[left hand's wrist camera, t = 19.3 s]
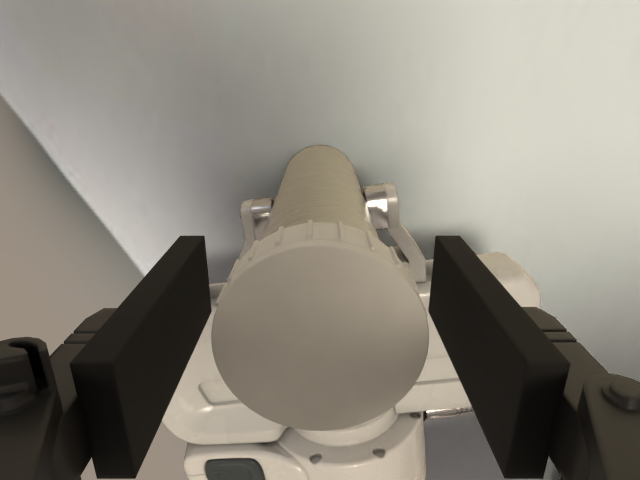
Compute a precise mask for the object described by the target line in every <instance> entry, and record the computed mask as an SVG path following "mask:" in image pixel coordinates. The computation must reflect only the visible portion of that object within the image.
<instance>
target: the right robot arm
mask: <svg viewBox="0 0 640 480" xmlns="http://www.w3.org/2000/svg"><path fill="white" fill-rule="evenodd" d="M362 190H363V196H364V198H365V201H366V204H367V206H368V209H369V212H370V215H371V217H372V220H373V223H374V226H375V228H376V229H386V230H387V231H388V233H389V234H390V236H391V237H392V238H393V240H394V241H395V242H396V244H397V245H398V246H392V247H393V248H394V250H395V252H396V255H397V257H398V258H399V259H400V261H401V262H402V264H403V265H404V266H405V268H407V267H409V269H410V271H411V273H412V275H413V278H414V280H415V282H416V284H417V286H418V288H419V290H417V291H418V293H419V296H420V298H421V300H422V302H423V304H424V307H425V309H426V311H427V315H428V316H426V317H427V322H428V328H429V346H428V354H427V357H426V361H425V364H424V367H423V369H422V371H421V374H420V376H419V378H418V379H417V381H416V383H415V384H414V386H413V387H412V389H411V390H410V391H409V392H408V393H407V394H406V396H405V397H404V398H403V399H402V400H401V401H399V402H398V403H397V404H396V405H395V406H394V407H392V408H391V409H389V410H388V411H387V412H385V413H384V414H382V415H380V416H378V417H376V418H375V419H373V420H370V421H368V422H365V423H363V424H360V425H357V426H353V427H350V428H345V429H339V430H330V431H309V430H301V429H295V428H291V427H287V426H283V425H281V424H278V423H275V422H272V421H270V420H268V419H266V418H264V417H262V416H260V415H258V414H257V413H255V412H254V411H252V410H250V409H249V408H248V407H247V406H246V405H244V404H243V403H242V402H241V401H240V400H239V399H238V398H237V397H236V396H235V395H234V394H233V393H232V392H231V391H230V389H229V388H228V387H227V385H226V384H225V382H224V381H223V379H222V377H221V375H220V373H219V371H218V368H217V366H216V363H215V360H214V356H213V351H212V342H211V332H212V323H213V319H214V315H215V311H216V309H217V307H215V304H216V301H217V299H218V297H219V295H220V292H221V290H222V288H223V286H224V284H225V282H223V283H214V284H209V288H210V298H211V309H212V312H211V314H210V316H209V319H208V321H207V323H206V325H205V327H204V329H203V332H202V334H201V336H200V338H199V340H198V343H197V345H196V347H195V349H194V351H193V353H192V356H191V358H190V360H189V362H188V364H187V367H186V369H185V371H184V373H183V375H182V377H181V380H180V382H179V384H178V386H177V388H176V391H175V393H174V395H173V397H172V399H171V401H170V404H169V406H168V408H167V410H166V412H165V415H164V417H163V419H162V422H163V424H164V425H165V427H166V428H167V429H168V430H169V431H170V432H171V433H172V434H174V435H175V436H176V437H178V438H180V439H181V440H183V441H186V442H188V443H187V448H186V453H185V458H184V469H185V473H186V475H187V478H188V479H189V480H426V457H425V436H424V423H423V421H425V419H433V418H443V417H452V416H457V415H461V414H466V413H471V412H472V413H475V412H474V410H473V408H472V406H471V404H470V401H469V399H468V397H467V395H466V393H465V391H464V388H463V386H462V384H461V382H460V380H459V377H458V375H457V373H456V371H455V369H454V367H453V364H452V362H451V360H450V358H449V356H448V353H447V351H446V349H445V347H444V345H443V343H442V340H441V338H440V336H439V334H438V332H437V329H436V327H435V325H434V323H433V321H432V319H431V316H430V314H429V312H428V309H429V298H430V288H431V278H432V268H433V259H429V260H425V258H424V256H423V254H422V252H421V251H420V249H419V247H418V245H417V244H416V242H415V241H414V239H413V238H412V237H411V235H410V234H409V232H408V231H407V230H406V228H405V227H404V225H403V224H402V223H401V221H400V220H399V207H398V195H397V190H396V187H395V186H394V184H393V183H384V184H376V185H368V186H363V187H362ZM274 201H275V199H274V197H270V198H260V199H250V200H244V201H243V203H242V205H241V206H240V214H241V221H242V226H243V232H244V237H245V243H244V245H243V248H242V250H241V253H240V255H239V258H238V260H241V259H242V257H243V256H244V255H245V254H246V252H248V251H249V250H250V249H251V248H252V246H253V243H254V241H256V240H258V241H260V240H261V237H262V235H263V232H264V229H265V226H266V224H267V221H268V218H269V215H270V212H271V210H272V207H273V204H274ZM476 255H477V256H478V258H479V259H480V260H481V261H482V262H483V263H484V264H485V266H486V267H487V268H488V269H489V270H490V271H491V273H492V274H493V275H494V276H495V277H496V278H497V279H498V281H499V282H500V283H501V284H502V285H503V286H504V288H505V289H506V290H507V291H508V292H509V293H510V294H511V296H512V297H513V298H514V299H515V300H516V301H517V302H518V304H519V305H520V306H521V307H538V308H539V309H540V300H541V297H540V290H539V288H538V286H537V284H536V283H535V281H534V280H533V279H532V278H531V276H530V275H529V274H528V273H527V272H526V271H525V270H524V269H523V268H522V267H521V266H520V265H519V264H517V263H516V262H515V261H514V260H512V259H511V258H510V257H508V256H507V255H506V254H504V253H501V252H492V253H483V254H476ZM226 283H228V282H226Z"/></svg>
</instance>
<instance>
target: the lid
mask: <svg viewBox="0 0 640 480" xmlns="http://www.w3.org/2000/svg"><path fill="white" fill-rule="evenodd" d="M227 281H228V283H226V282H225V284H224V286H223V288H222V290H221V292H220V295H219V297H218V299H217V301H216V304H215V307H217V309H216V311H215V315H214V319H213V323H212V332H211V342H212V351H213V356H214V360H215V363H216V366H217V368H218V371H219V373H220V375H221V377H222V379H223V381H224V382H225V384H226V385H227V387H228V388H229V389H230V391H231V392H232V393H233V394H234V395H235V396H236V397H237V398H238V399H239V400H240V401H241V402H242V403H243V404H244V405H246V406H247V407H248V408H249V409H250V410H252V411H254V412H255V413H257V414H258V415H260V416H262V417H264V418H266V419H268V420H270V421H272V422H275V423H278V424H281V425H283V426H287V427H291V428H295V429H301V430H309V431H330V430H339V429H345V428H350V427H353V426H357V425H360V424H363V423H365V422H368V421H370V420H373V419H375V418H376V417H378V416H380V415H382V414H384V413H385V412H387V411H388V410H389V409H391V408H392V407H394V406H395V405H396V404H397V403H398V402H399V401H401V400H402V399H403V398H404V397H405V396H406V394H407V393H408V392H409V391H410V390H411V389H412V387H413V386H414V384H415V383H416V381H417V379H418V378H419V376H420V374H421V371H422V369H423V367H424V364H425V361H426V357H427V354H428V346H429V328H428V322H427V317H426V316H428V315H427V311H426V309H425V307H424V304H423V302H422V300H421V298H420V296H419V293H418V291H417V290H419V288H418V286H417V284H416V282H415V280H414V278H413V275H412V273H411V271H410V269H409V267H407V268H405V266H404V265H403V264H402V262H401V261H400V259H399V258H398V257H397V255H396V252H395V250H394V248H393V247H392V246H390V247H387V246H386V245H385V244H384V243H382V242H381V241H380V240H378V239H377V238H375V237H373V236H372V234H371V231H369V230H367V231H366V232H364V231H361V230H359V229H357V228H354V227H350V226H347V225H343V222H342V221H338V224H336V223H329V222H313V220H308V223H303V224H298V225H294V226H290V227H287V228H284V227H283V226H281V227H279V229H278V231H276V232H274V233H272V234H270V235H269V236H267V237H265V238H264V239H262V240H261V241H258V240H256V241H254V243H253V246H252V248H251V249H250V250H249V251H248V252H246V254H245V255H244V256H243V257H242V259H241V260H238V259H237V260H236V261H235V263H234V266H233V268H232V270H231V272H230V274H229V277H228V279H227Z"/></svg>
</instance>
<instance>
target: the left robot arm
mask: <svg viewBox="0 0 640 480" xmlns="http://www.w3.org/2000/svg"><path fill="white" fill-rule="evenodd" d="M211 312H212V309H211V298H210V288H209V278H208V268H207V258H206V248H205V238H204V236H180V237H179V238H178V239H177V240H176V241H175V243H174V244H173V245H172V246H171V247H170V248H169V250H168V251H167V252H166V253H165V254H164V255H163V256H162V258H161V259H160V260H159V261H158V262H157V263H156V264H155V266H154V267H153V268H152V269H151V270H150V271H149V273H148V274H147V275H146V276H145V277H144V278H143V280H142V281H141V282H140V283H139V284H138V285H137V286H136V288H135V289H134V290H133V291H132V292H131V293H130V294H129V296H128V297H127V298H126V299H125V300H124V301H123V302H122V304H121V305H120V306H119V307H118V308H104V309H102V310H100V311H98V312H97V313H95V314H93V315H91V316H90V317H88V318H86V319H85V320H84V321H83V322H82V323H81V324H80V325H79V326H78V327H77V328H76V329H75V331H74V334H71V335H70V336H69V337H68V338H67V339H66V340H65V341H64V344H61V345H60V346H59V347H58V348H57V349H56V350H55V351H54V352H53V353H52V354H51V355H50V356H49V353H48V349H47V345H46V343H45V342H43V341H42V340H41V339H38V338H32V337H21V338H11V339H7V340H3V341H0V480H81V477H80V476H81V474H82V472H83V471H84V469H85V467H86V466H87V464H88V462H89V461H90V459H91V457H92V460H93V464H94V468H95V472H96V476H97V478H98V479H99V478H100V479H101V478H109V479H112V478H116V479H118V478H122V479H124V478H128V479H129V478H133V479H135V478H136V476H137V473H138V471H139V469H140V467H141V465H142V463H143V460H144V458H145V456H146V454H147V452H148V449H149V447H150V445H151V443H152V441H153V439H154V436H155V434H156V432H157V430H158V428H159V425H160V423H161V421H162V419H163V417H164V415H165V412H166V410H167V408H168V406H169V404H170V401H171V399H172V397H173V395H174V393H175V391H176V388H177V386H178V384H179V382H180V380H181V377H182V375H183V373H184V371H185V369H186V367H187V364H188V362H189V360H190V358H191V356H192V353H193V351H194V349H195V347H196V345H197V343H198V340H199V338H200V336H201V334H202V332H203V329H204V327H205V325H206V323H207V321H208V319H209V316H210V314H211ZM428 312H429V314H430V316H431V319H432V321H433V323H434V325H435V327H436V329H437V332H438V334H439V336H440V338H441V340H442V343H443V345H444V347H445V349H446V351H447V353H448V356H449V358H450V360H451V362H452V364H453V367H454V369H455V371H456V373H457V375H458V377H459V380H460V382H461V384H462V386H463V388H464V391H465V393H466V395H467V397H468V399H469V401H470V404H471V406H472V408H473V410H474V412H475V415H476V417H477V419H478V421H479V423H480V425H481V428H482V430H483V432H484V434H485V436H486V439H487V441H488V443H489V445H490V447H491V449H492V452H493V454H494V456H495V458H496V460H497V463H498V465H499V467H500V469H501V471H502V473H503V476H504V478H505V479H543V476H544V472H545V468H546V464H547V460H548V456H549V457H550V458H551V460H552V462H553V463H554V465H555V467H556V468H557V470H558V472H559V473H560V476H559V480H640V382H638V381H636V380H633V379H630V378H627V377H623V376H620V375H614V374H609V373H608V372H607V371H606V370H605V369H604V368H603V367H602V366H601V365H600V364H599V363H598V362H597V361H596V360H595V358H594V357H593V356H592V355H591V354H590V353H589V352H588V351H587V350H586V349H585V348H584V347H583V346H582V345H581V344H580V343H577V341H576V339H575V338H574V337H573V336H572V335H571V334H570V333H569V332H567V331H566V329H565V328H564V326H563V325H562V324H561V323H560V322H559V321H558V320H557V319H556V318H555V317H553V316H551V315H550V314H548V313H546V312H544V311H543V310H541V309H539V308H538V307H521V306H520V305H519V304H518V302H517V301H516V300H515V299H514V298H513V297H512V296H511V294H510V293H509V292H508V291H507V290H506V289H505V288H504V286H503V285H502V284H501V283H500V282H499V281H498V279H497V278H496V277H495V276H494V275H493V274H492V273H491V271H490V270H489V269H488V268H487V267H486V266H485V264H484V263H483V262H482V261H481V260H480V259H479V258H478V256H477V255H476V254H475V253H474V252H473V251H472V250H471V248H470V247H469V246H468V245H467V244H466V243H465V241H464V240H463V239H462V238H461V237H460V236H436V238H435V248H434V258H433V268H432V278H431V288H430V298H429V309H428Z"/></svg>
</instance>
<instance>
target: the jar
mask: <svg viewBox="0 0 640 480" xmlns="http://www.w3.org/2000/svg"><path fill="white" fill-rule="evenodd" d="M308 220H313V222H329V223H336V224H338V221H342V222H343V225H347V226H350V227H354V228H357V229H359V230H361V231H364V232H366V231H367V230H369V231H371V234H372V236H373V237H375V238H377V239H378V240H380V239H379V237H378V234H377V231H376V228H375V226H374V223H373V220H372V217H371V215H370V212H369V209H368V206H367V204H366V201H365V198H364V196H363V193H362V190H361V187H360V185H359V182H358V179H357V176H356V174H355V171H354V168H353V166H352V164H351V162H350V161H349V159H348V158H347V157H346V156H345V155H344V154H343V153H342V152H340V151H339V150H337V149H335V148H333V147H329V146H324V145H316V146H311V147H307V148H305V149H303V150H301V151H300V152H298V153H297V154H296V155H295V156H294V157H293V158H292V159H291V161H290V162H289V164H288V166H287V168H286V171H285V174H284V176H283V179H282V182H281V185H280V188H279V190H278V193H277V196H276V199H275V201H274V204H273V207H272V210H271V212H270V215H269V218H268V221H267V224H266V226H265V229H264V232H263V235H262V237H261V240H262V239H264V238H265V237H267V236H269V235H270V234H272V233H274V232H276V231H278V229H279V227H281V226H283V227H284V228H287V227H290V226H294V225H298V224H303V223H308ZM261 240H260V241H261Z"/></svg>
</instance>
